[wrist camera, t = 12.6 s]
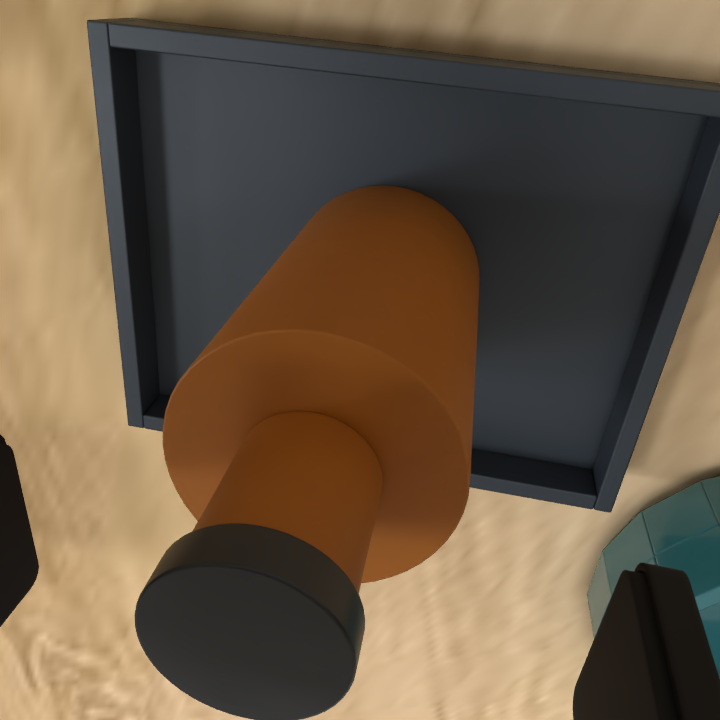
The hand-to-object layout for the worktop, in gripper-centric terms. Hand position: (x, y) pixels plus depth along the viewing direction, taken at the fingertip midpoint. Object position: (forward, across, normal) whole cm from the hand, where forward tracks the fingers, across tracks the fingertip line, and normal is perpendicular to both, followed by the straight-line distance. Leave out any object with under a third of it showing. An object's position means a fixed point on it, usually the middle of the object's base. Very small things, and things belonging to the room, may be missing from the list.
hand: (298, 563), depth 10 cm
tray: (+13, +1, 0) cm, 13 cm away
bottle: (+13, +1, +1) cm, 13 cm away
